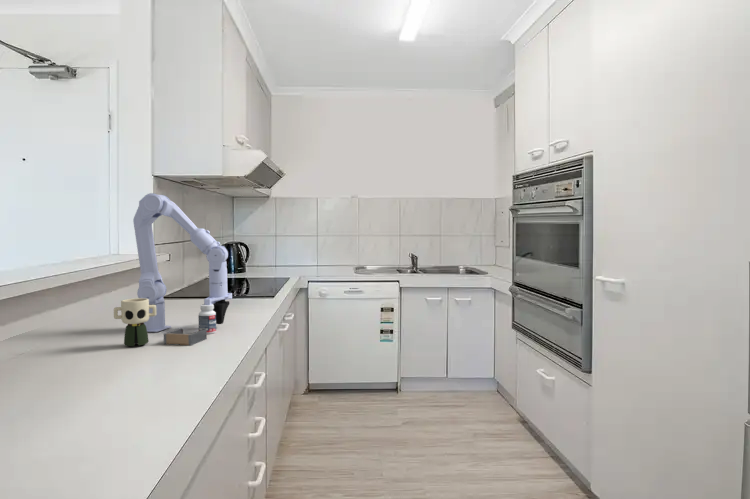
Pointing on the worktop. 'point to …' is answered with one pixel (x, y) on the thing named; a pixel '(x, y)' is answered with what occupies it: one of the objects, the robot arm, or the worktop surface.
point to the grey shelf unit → (184, 337)
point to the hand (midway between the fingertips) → (219, 323)
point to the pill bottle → (207, 318)
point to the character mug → (135, 319)
